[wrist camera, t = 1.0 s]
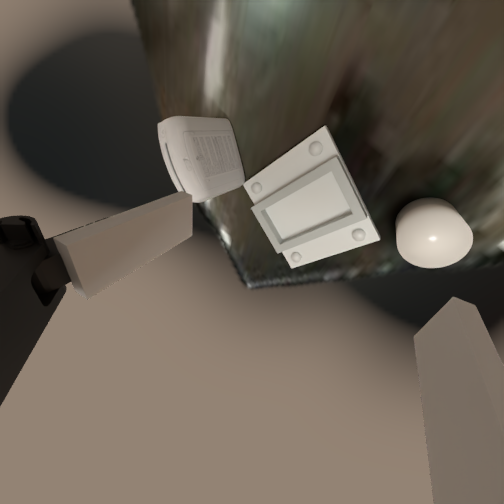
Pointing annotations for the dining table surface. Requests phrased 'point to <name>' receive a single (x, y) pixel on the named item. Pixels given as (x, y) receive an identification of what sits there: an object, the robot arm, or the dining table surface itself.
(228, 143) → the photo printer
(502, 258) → the dining table surface
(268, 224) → the dock plate
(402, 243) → the white rounded cylinder
